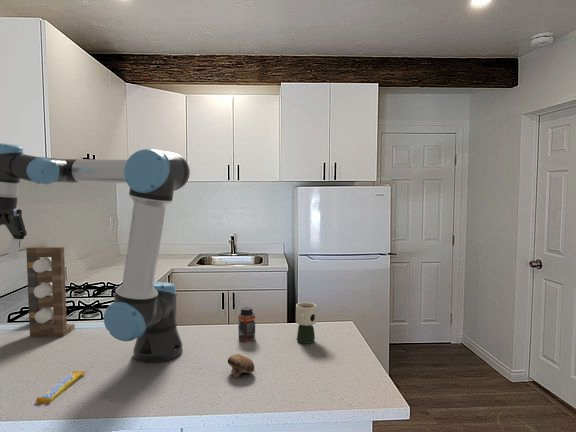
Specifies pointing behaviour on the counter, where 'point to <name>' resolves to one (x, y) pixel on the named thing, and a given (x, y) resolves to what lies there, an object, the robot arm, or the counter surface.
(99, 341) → the counter surface
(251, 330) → the supplement bottle
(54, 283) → the switch panel
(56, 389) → the candy bar
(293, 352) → the counter surface
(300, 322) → the character mug
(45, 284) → the middle button
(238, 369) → the mushroom
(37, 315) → the bottom button
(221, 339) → the counter surface
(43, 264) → the top button
